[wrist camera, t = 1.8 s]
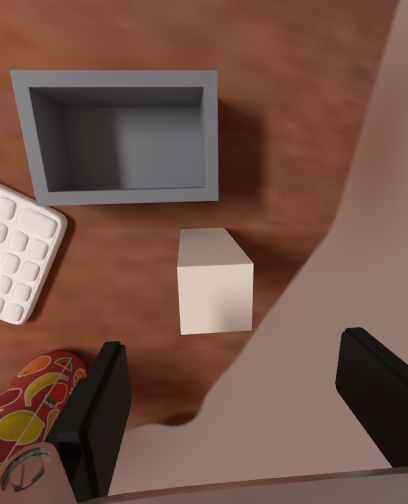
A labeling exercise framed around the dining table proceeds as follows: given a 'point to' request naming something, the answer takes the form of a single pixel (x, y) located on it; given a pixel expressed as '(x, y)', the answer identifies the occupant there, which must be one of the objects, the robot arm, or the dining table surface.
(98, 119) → the grey open box
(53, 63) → the dining table surface
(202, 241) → the post
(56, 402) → the smoothie
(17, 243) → the calculator
